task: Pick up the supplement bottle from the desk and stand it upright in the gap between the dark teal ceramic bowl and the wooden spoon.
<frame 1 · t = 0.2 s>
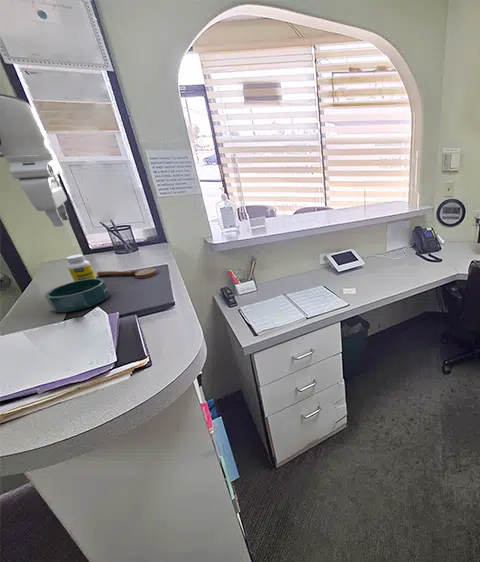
hand: (62, 222, 83), 22 cm above the table, tool pointing down, fingers open, 8 cm apart
spoon: (127, 275, 107), on the table
bowl: (83, 303, 89), on the table
supplement bottle: (88, 284, 101), on the table
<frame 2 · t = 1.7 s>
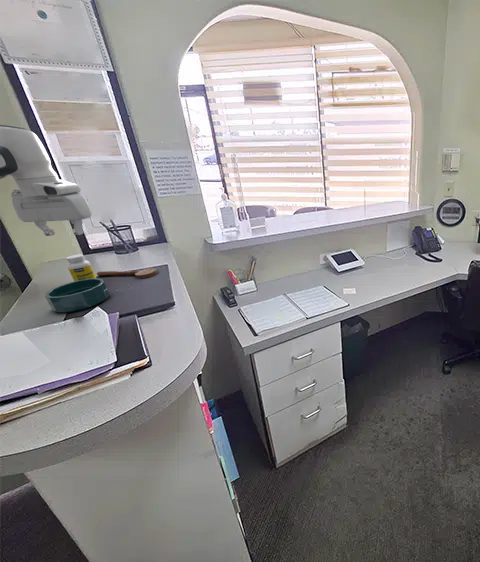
hand: (64, 234, 94), 17 cm above the table, tool pointing down, fingers open, 8 cm apart
nothing on the table moved.
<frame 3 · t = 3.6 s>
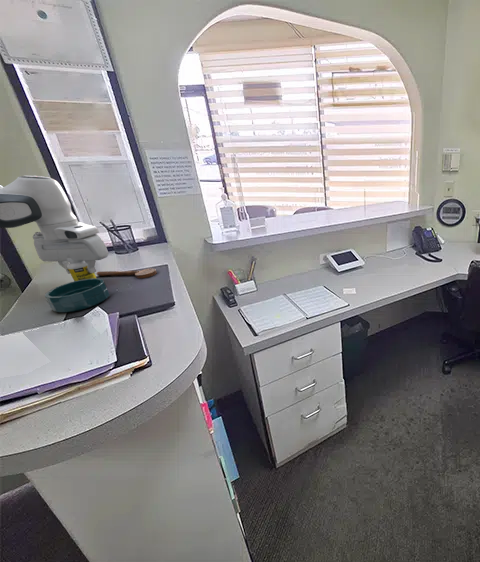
hand: (82, 272, 100), 4 cm above the table, tool pointing down, fingers closed on supplement bottle, 5 cm apart
supplement bottle: (88, 284, 101), on the table, touching gripper
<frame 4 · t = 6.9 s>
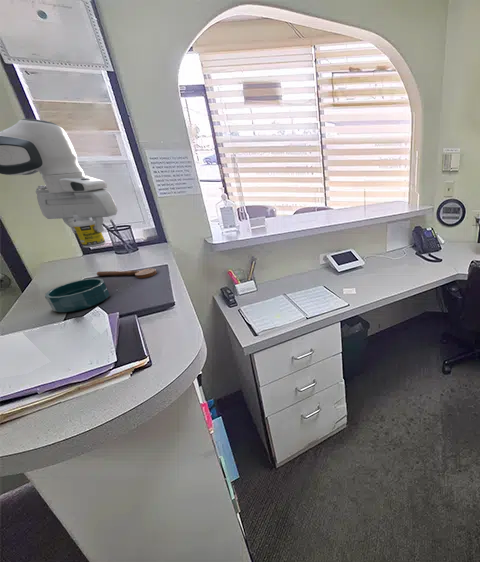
hand: (89, 232, 92), 18 cm above the table, tool pointing down, fingers closed on supplement bottle, 5 cm apart
supplement bottle: (95, 246, 94), point 13 cm above the table, touching gripper
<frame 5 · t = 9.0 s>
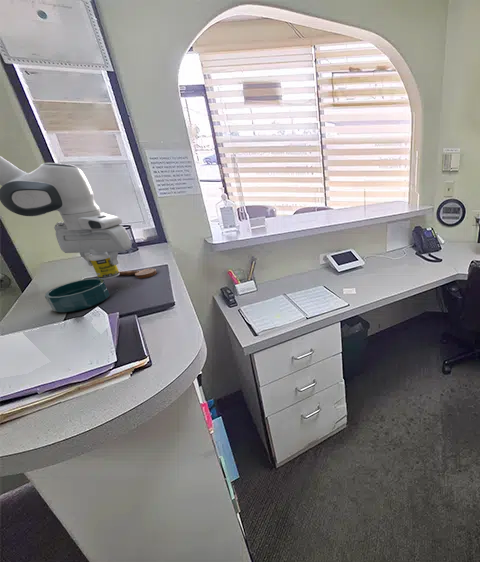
hand: (104, 264, 97), 7 cm above the table, tool pointing down, fingers closed on supplement bottle, 5 cm apart
supplement bottle: (110, 277, 98), point 3 cm above the table, touching gripper
when the fingers open (4 cm above the table, at t = 10.4 s): supplement bottle stays where it is, on the table.
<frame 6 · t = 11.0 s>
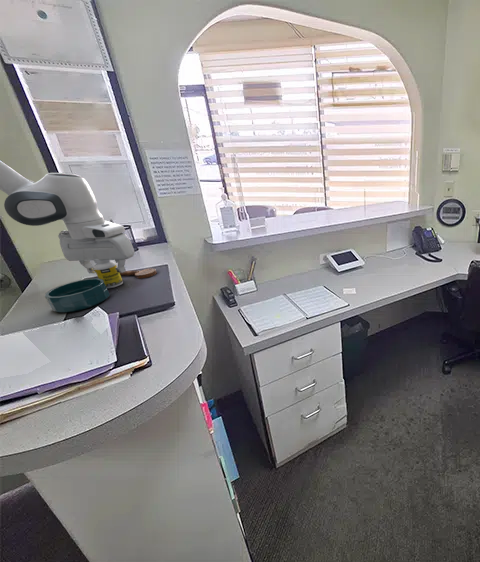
hand: (107, 272, 98), 5 cm above the table, tool pointing down, fingers open, 8 cm apart
supplement bottle: (113, 285, 100), on the table
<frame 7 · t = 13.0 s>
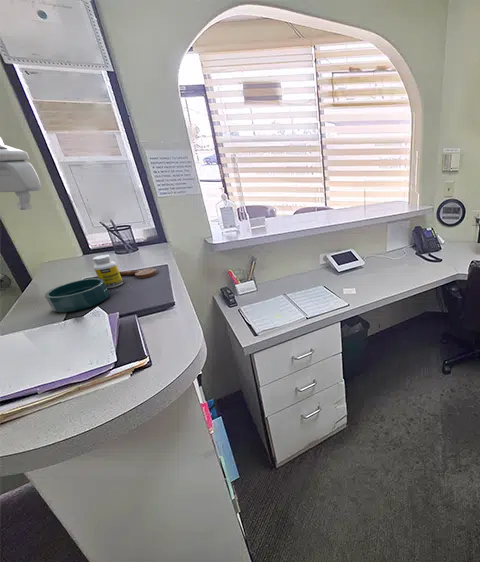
hand: (9, 209, 82), 26 cm above the table, tool pointing down, fingers open, 8 cm apart
nothing on the table moved.
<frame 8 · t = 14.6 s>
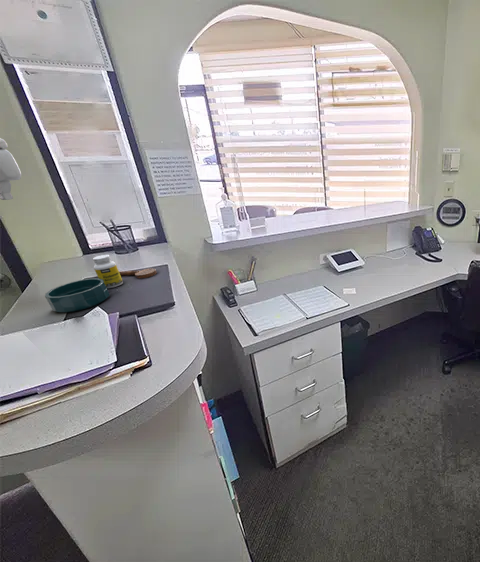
nothing on the table moved.
at the end: supplement bottle inside the target area (0.2 cm from its centre), on the table; supplement bottle tilted 0°; the gripper is holding nothing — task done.
